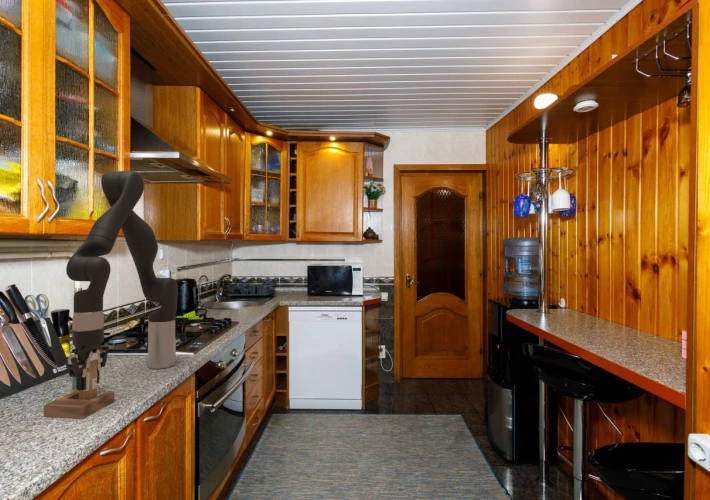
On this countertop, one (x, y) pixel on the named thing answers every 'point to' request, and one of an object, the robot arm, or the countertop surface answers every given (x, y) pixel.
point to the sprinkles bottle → (90, 380)
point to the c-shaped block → (77, 405)
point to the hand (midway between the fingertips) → (88, 386)
